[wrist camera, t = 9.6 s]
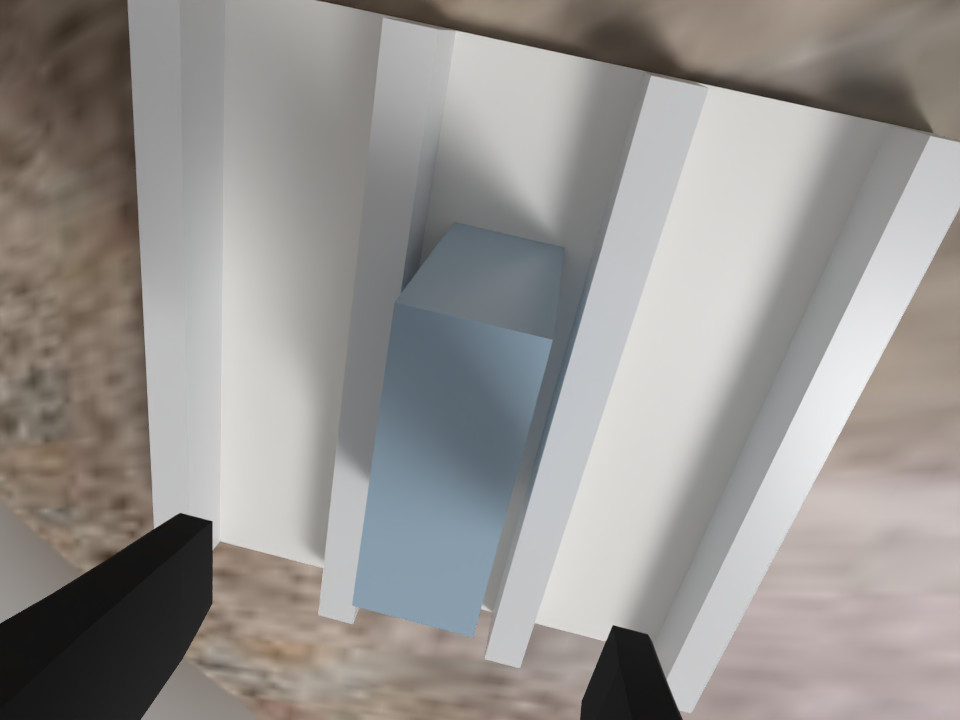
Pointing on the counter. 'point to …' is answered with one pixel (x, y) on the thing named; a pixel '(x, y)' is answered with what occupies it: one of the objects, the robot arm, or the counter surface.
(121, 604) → the robot arm
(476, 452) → the blue block
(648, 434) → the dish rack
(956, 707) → the counter surface
